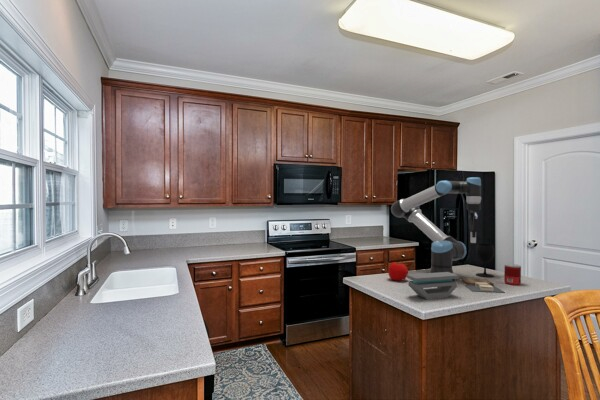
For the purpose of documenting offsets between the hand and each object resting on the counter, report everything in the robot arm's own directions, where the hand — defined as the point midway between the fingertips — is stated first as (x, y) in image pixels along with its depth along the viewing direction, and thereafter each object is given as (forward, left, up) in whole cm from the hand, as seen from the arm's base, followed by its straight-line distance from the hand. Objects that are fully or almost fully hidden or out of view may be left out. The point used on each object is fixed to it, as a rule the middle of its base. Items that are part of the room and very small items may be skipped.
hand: (473, 242), depth 193 cm
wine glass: (+13, +16, -23) cm, 31 cm away
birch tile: (0, -16, -23) cm, 28 cm away
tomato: (-44, -5, -23) cm, 50 cm away
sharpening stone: (-31, -35, -23) cm, 52 cm away
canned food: (+21, -2, -23) cm, 32 cm away
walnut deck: (0, -6, -23) cm, 24 cm away
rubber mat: (0, -17, -23) cm, 29 cm away
